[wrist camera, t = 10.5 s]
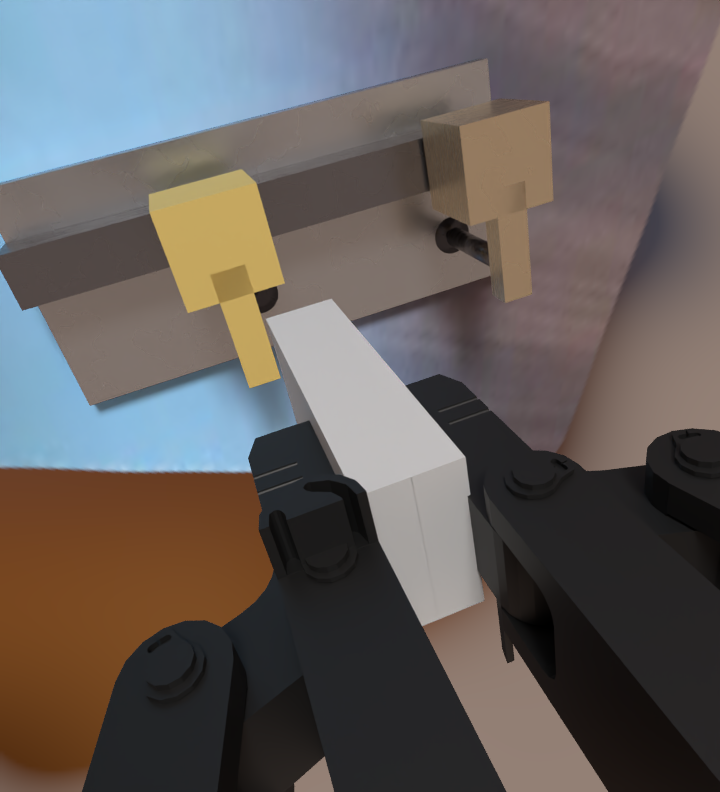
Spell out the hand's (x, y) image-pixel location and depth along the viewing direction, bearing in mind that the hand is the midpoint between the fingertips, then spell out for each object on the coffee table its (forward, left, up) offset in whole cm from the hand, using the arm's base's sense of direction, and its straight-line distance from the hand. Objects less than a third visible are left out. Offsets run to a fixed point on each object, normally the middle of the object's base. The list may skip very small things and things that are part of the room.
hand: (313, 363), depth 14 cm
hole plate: (+2, -2, -19) cm, 19 cm away
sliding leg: (-1, -2, -18) cm, 18 cm away
